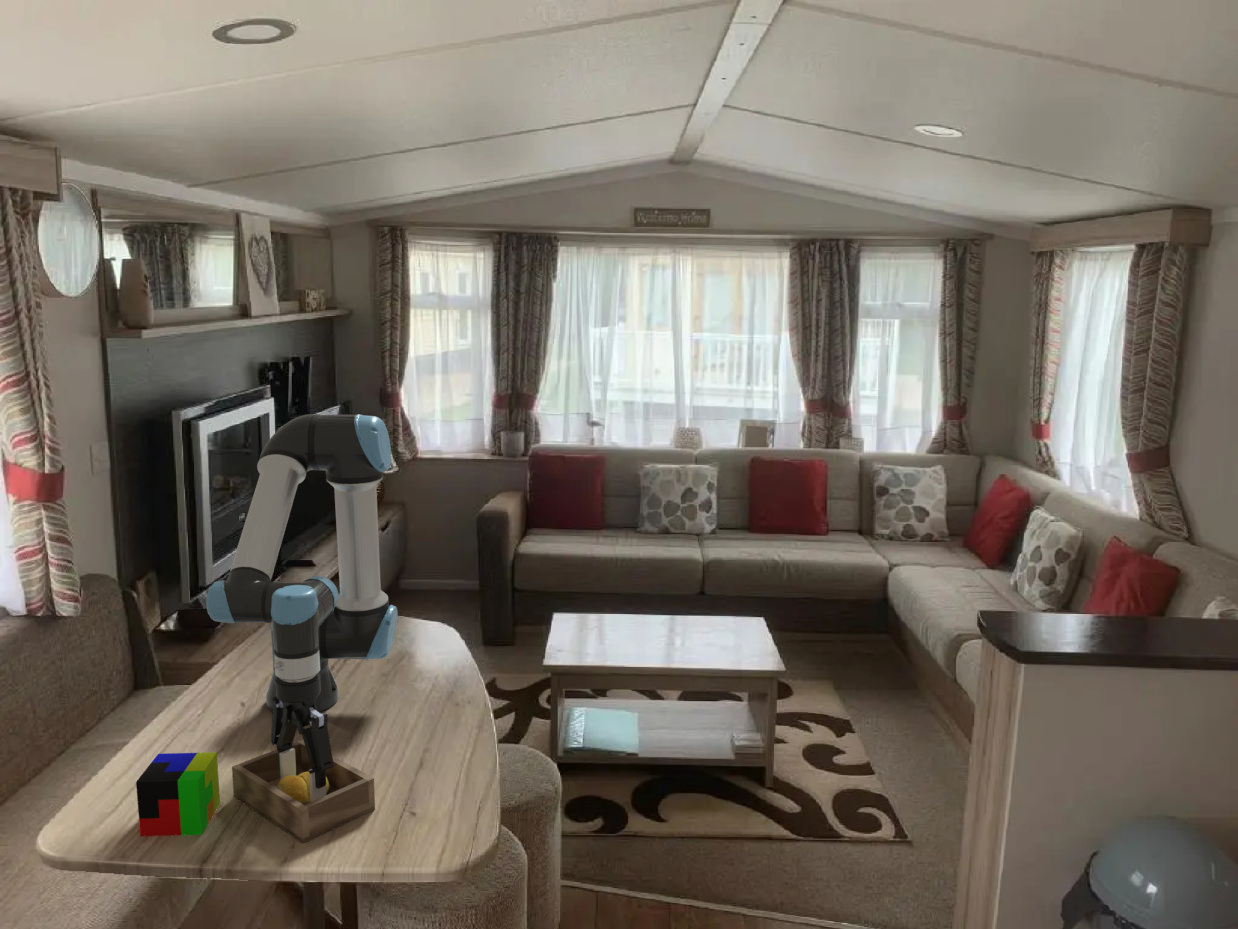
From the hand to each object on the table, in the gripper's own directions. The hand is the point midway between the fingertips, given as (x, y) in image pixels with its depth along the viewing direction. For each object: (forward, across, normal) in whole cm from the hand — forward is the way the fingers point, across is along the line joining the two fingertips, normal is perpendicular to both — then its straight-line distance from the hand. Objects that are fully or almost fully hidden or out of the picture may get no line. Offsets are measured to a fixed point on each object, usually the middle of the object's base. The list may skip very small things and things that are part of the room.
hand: (303, 793), depth 178 cm
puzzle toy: (+2, -11, -17) cm, 20 cm away
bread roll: (+1, 0, 0) cm, 1 cm away
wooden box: (+2, 0, 0) cm, 2 cm away
